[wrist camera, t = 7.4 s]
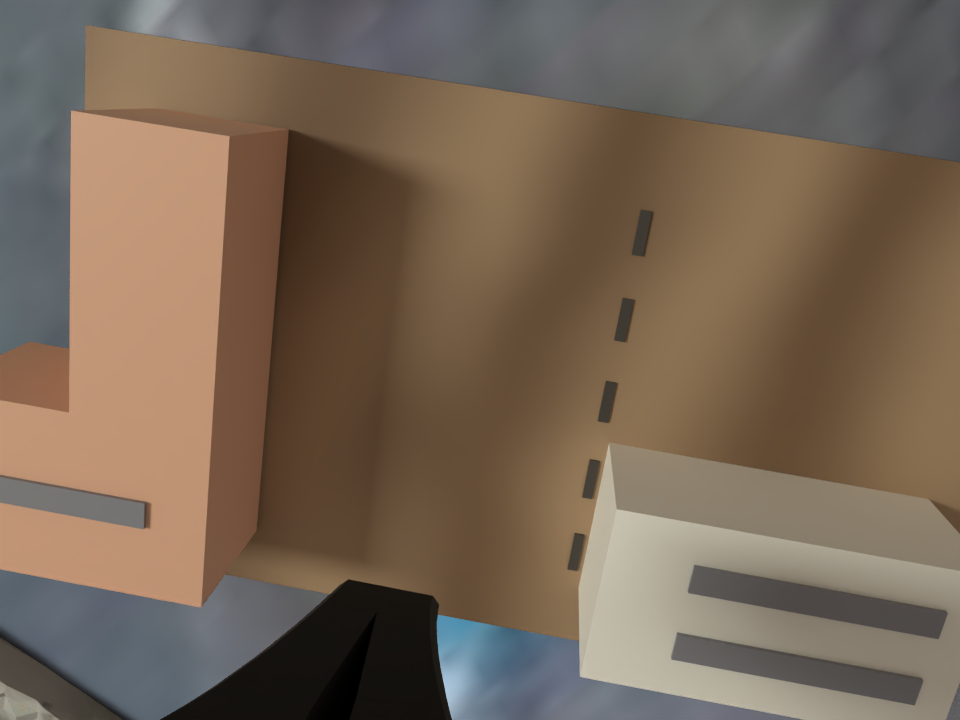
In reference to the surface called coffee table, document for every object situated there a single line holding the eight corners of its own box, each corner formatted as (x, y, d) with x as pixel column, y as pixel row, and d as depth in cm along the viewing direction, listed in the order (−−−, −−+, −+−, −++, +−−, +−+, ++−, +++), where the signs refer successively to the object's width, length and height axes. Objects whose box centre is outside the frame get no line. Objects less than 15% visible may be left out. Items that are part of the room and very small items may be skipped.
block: (288, 129, 19) (227, 136, 16) (256, 530, 22) (199, 609, 19) (27, 87, 20) (-88, 85, 16) (30, 489, 23) (-67, 559, 19)
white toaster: (928, 498, 20) (1001, 580, 17) (879, 644, 22) (938, 748, 18) (609, 442, 21) (616, 511, 17) (578, 588, 22) (580, 680, 18)
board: (1090, 182, 19) (1113, 186, 18) (911, 685, 23) (923, 707, 22) (104, 28, 20) (84, 24, 19) (95, 532, 24) (78, 547, 23)
